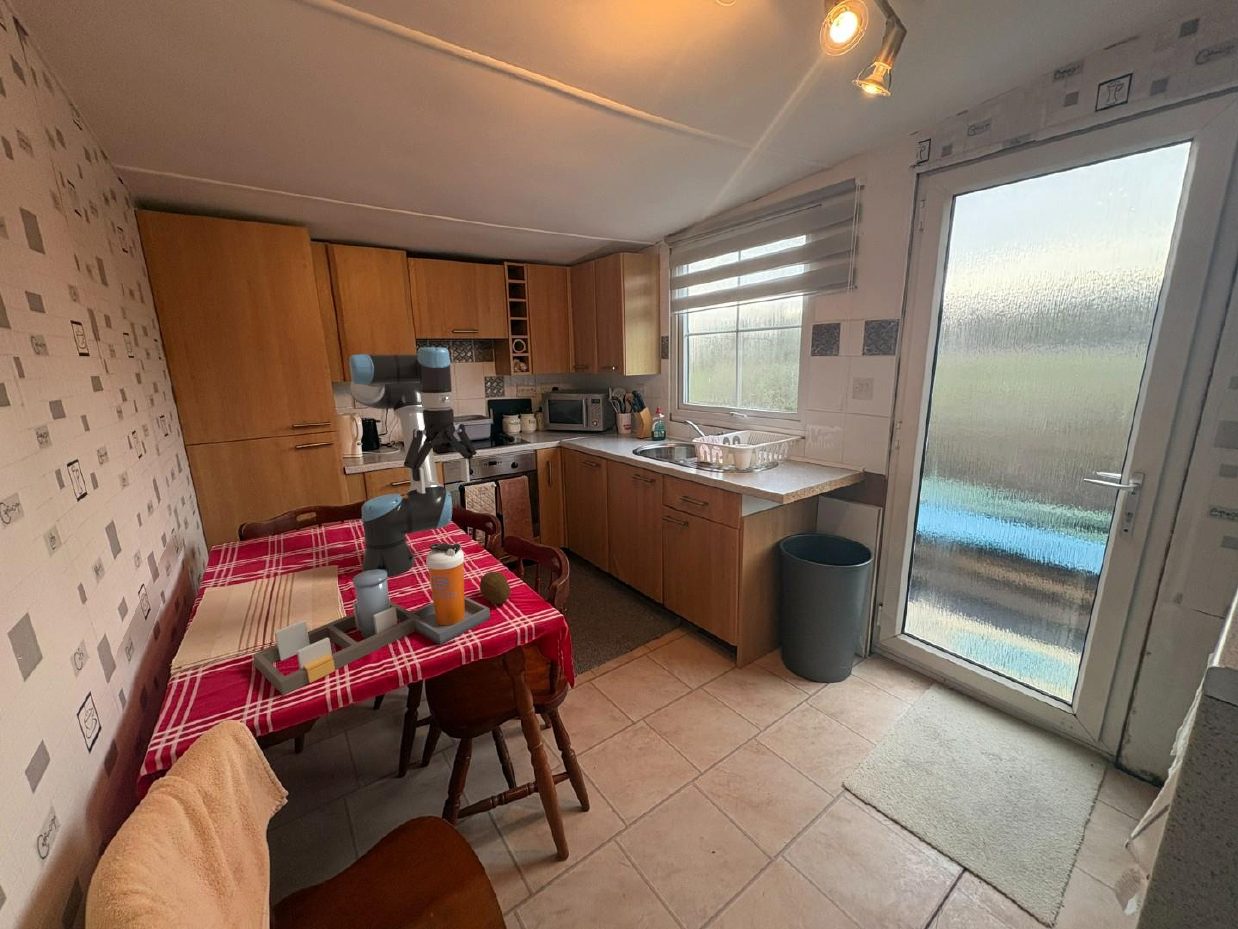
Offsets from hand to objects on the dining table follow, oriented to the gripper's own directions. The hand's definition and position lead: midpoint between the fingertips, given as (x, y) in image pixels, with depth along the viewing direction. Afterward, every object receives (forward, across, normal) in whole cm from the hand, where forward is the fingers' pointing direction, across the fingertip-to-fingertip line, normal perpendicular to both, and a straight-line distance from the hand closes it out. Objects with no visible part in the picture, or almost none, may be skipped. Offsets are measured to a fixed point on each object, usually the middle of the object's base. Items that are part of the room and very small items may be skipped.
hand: (444, 486), depth 130 cm
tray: (+32, -9, -12) cm, 35 cm away
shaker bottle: (+31, -9, -12) cm, 35 cm away
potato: (+32, +6, -12) cm, 35 cm away
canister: (+32, -22, -1) cm, 39 cm away
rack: (+32, -30, -1) cm, 44 cm away
